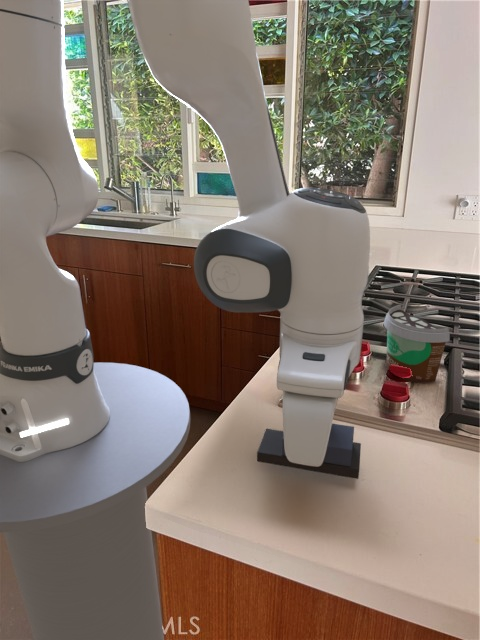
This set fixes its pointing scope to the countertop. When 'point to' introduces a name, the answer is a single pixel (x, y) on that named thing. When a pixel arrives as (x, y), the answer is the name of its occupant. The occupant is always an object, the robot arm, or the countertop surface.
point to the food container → (414, 344)
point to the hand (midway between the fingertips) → (313, 445)
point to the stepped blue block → (338, 456)
